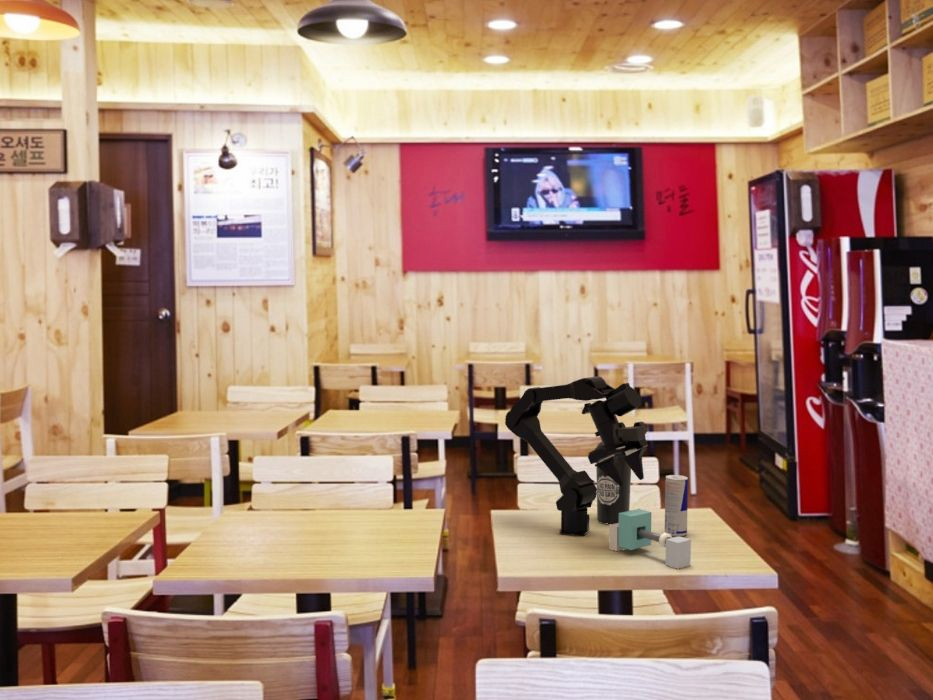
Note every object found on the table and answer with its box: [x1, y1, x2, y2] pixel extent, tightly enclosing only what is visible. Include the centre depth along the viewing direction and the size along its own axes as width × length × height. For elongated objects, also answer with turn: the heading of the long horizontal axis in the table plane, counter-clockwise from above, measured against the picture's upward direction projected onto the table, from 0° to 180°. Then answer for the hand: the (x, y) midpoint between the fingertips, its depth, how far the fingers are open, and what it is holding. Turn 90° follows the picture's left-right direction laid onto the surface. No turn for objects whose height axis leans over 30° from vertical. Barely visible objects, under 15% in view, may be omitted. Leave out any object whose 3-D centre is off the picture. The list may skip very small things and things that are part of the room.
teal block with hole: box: [618, 508, 652, 551], centre depth 215 cm, size 4×7×8 cm, turn 127°
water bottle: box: [594, 441, 632, 525], centre depth 242 cm, size 10×10×23 cm
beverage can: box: [664, 474, 689, 537], centre depth 230 cm, size 6×6×15 cm
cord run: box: [608, 523, 692, 570], centre depth 211 cm, size 20×7×7 cm, turn 37°
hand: (632, 482), depth 219 cm, fingers open, 9 cm apart
